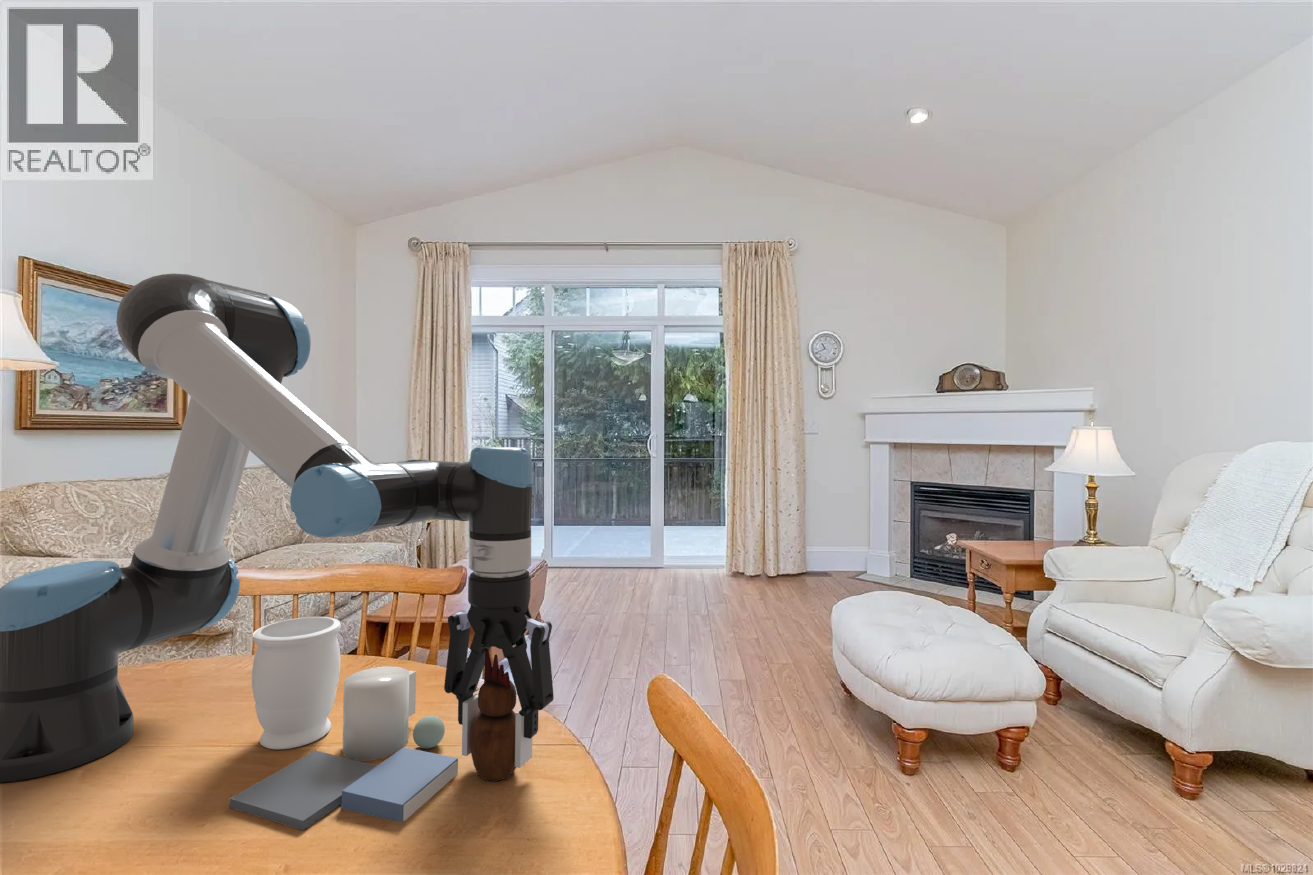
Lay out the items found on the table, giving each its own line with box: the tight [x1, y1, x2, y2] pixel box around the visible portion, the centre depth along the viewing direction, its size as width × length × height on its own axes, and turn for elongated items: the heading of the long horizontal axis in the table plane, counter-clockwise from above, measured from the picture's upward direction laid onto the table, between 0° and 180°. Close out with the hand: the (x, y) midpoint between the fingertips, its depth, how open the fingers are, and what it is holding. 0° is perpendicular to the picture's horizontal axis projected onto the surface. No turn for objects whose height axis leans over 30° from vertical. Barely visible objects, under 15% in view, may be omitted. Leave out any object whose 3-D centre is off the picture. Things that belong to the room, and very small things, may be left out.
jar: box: [251, 616, 342, 750], centre depth 82 cm, size 11×10×15 cm
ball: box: [412, 715, 446, 750], centre depth 80 cm, size 4×4×4 cm
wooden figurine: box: [470, 649, 517, 781], centre depth 74 cm, size 7×6×15 cm
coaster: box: [228, 749, 378, 831], centre depth 70 cm, size 11×11×1 cm
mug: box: [342, 665, 417, 762], centre depth 82 cm, size 8×11×9 cm
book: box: [340, 746, 459, 823], centre depth 70 cm, size 8×10×2 cm
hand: (496, 755), depth 74 cm, fingers closed on wooden figurine, 7 cm apart
